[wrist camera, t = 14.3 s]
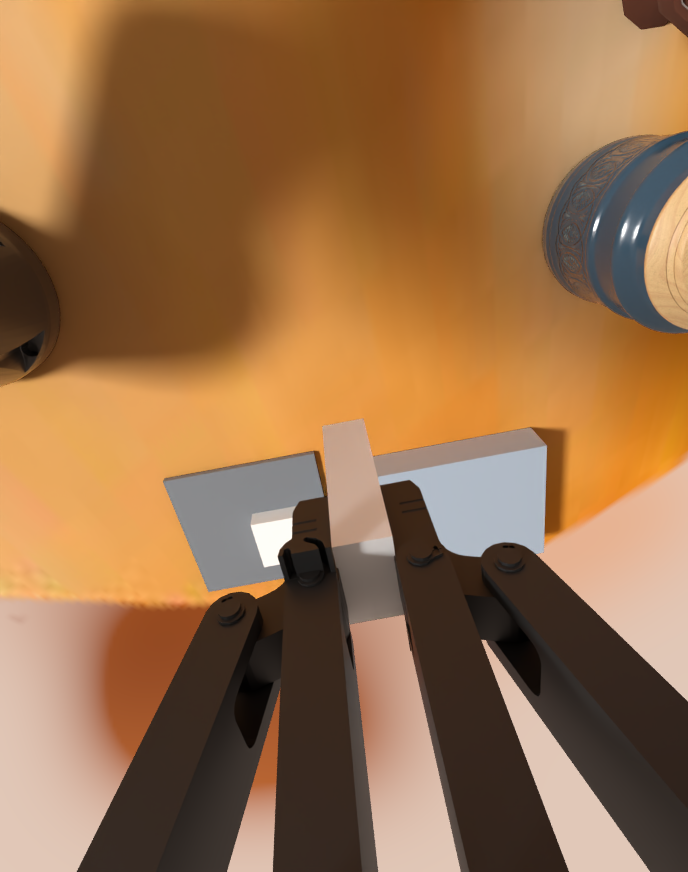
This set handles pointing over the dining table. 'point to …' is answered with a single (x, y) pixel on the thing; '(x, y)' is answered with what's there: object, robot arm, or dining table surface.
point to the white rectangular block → (272, 533)
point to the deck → (478, 489)
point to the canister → (626, 230)
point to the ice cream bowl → (657, 13)
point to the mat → (238, 513)
